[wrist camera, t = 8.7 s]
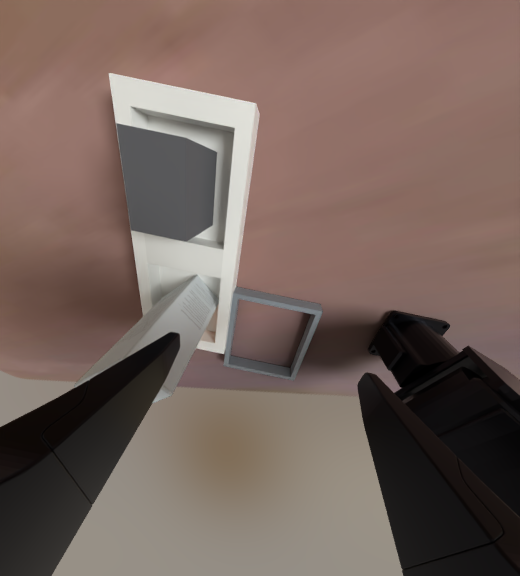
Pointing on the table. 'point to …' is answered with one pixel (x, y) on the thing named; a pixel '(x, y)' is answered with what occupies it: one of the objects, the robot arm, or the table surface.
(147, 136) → the dark gray rectangular block
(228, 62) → the table surface
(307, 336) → the gray rectangular frame
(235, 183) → the divided desk organizer
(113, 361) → the skincare box
